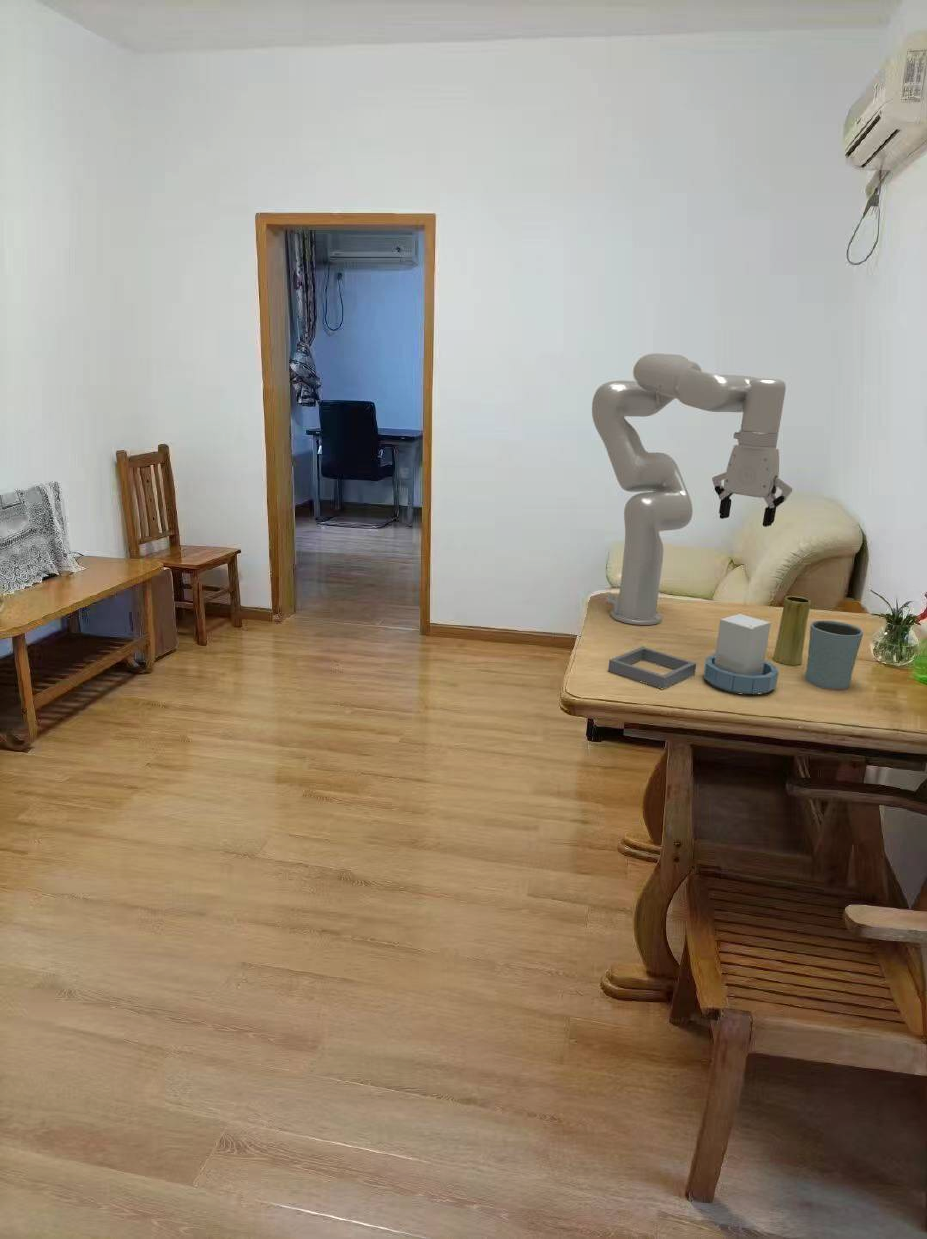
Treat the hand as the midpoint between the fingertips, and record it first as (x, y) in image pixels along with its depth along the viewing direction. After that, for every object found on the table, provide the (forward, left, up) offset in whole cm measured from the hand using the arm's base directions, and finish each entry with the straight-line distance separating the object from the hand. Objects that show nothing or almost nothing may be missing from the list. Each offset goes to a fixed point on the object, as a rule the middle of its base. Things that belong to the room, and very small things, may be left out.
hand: (745, 521), depth 182 cm
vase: (+11, +8, -31) cm, 33 cm away
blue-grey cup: (+22, +2, -31) cm, 38 cm away
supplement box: (+10, -14, -30) cm, 34 cm away
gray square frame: (-5, -23, -30) cm, 38 cm away
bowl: (+10, -14, -30) cm, 35 cm away
